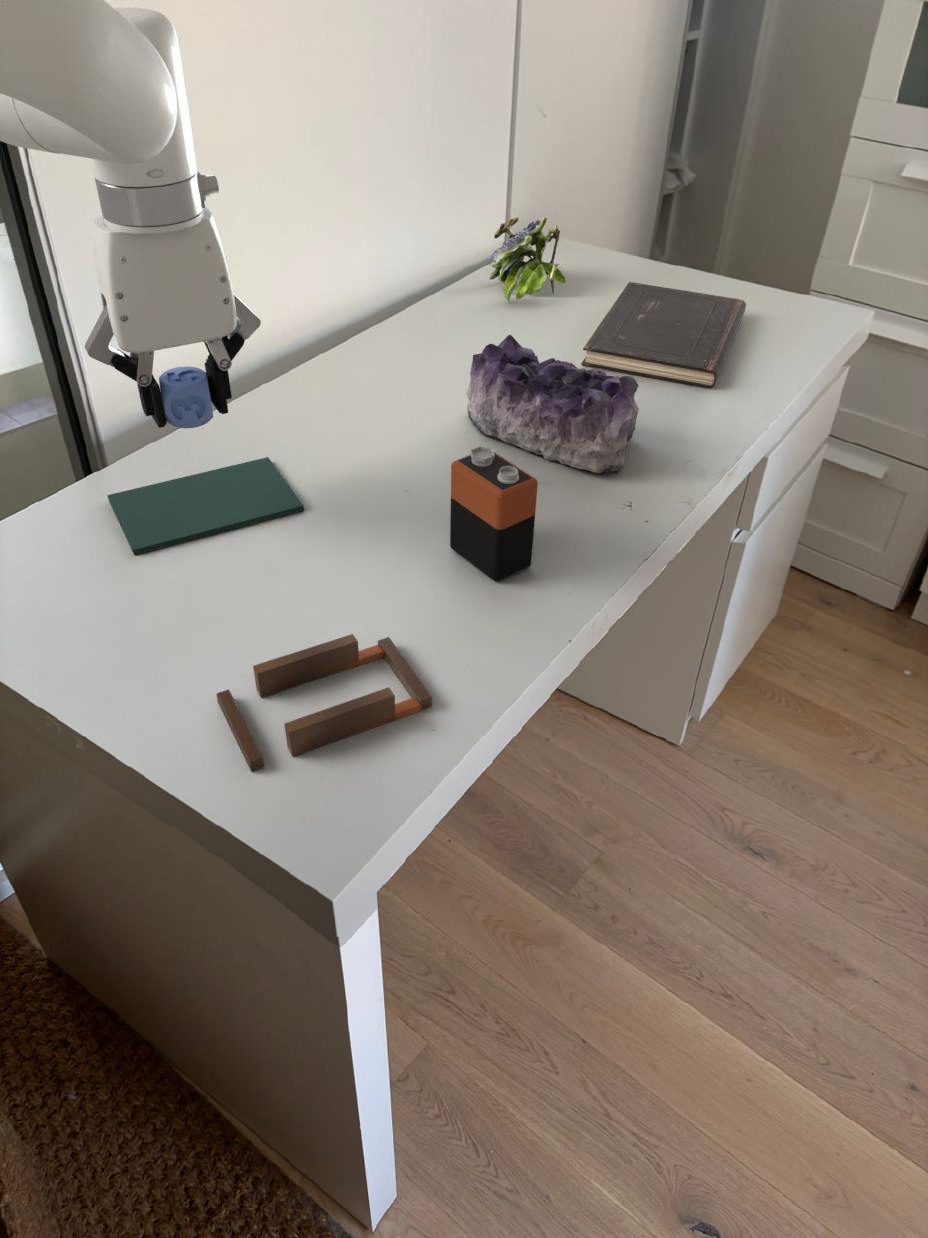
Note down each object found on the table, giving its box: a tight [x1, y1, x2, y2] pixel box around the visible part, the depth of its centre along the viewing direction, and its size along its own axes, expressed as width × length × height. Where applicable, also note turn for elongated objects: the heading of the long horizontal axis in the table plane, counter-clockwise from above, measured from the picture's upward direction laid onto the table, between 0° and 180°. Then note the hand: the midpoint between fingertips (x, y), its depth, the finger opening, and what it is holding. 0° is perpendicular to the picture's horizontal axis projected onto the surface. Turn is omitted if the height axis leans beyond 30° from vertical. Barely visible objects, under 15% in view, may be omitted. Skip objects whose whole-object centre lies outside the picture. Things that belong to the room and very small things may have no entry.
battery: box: [449, 445, 539, 583], centre depth 83 cm, size 4×7×10 cm, turn 39°
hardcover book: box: [581, 281, 747, 389], centre depth 122 cm, size 16×23×2 cm
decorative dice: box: [158, 366, 214, 429], centre depth 85 cm, size 4×4×4 cm
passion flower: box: [488, 216, 567, 304], centre depth 133 cm, size 11×11×12 cm
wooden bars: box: [215, 633, 433, 772], centre depth 71 cm, size 14×8×2 cm, turn 118°
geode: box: [466, 334, 640, 474], centre depth 100 cm, size 20×12×10 cm, turn 59°
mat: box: [107, 456, 305, 556], centre depth 92 cm, size 16×10×1 cm, turn 118°
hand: (189, 411), depth 85 cm, fingers closed on decorative dice, 4 cm apart
